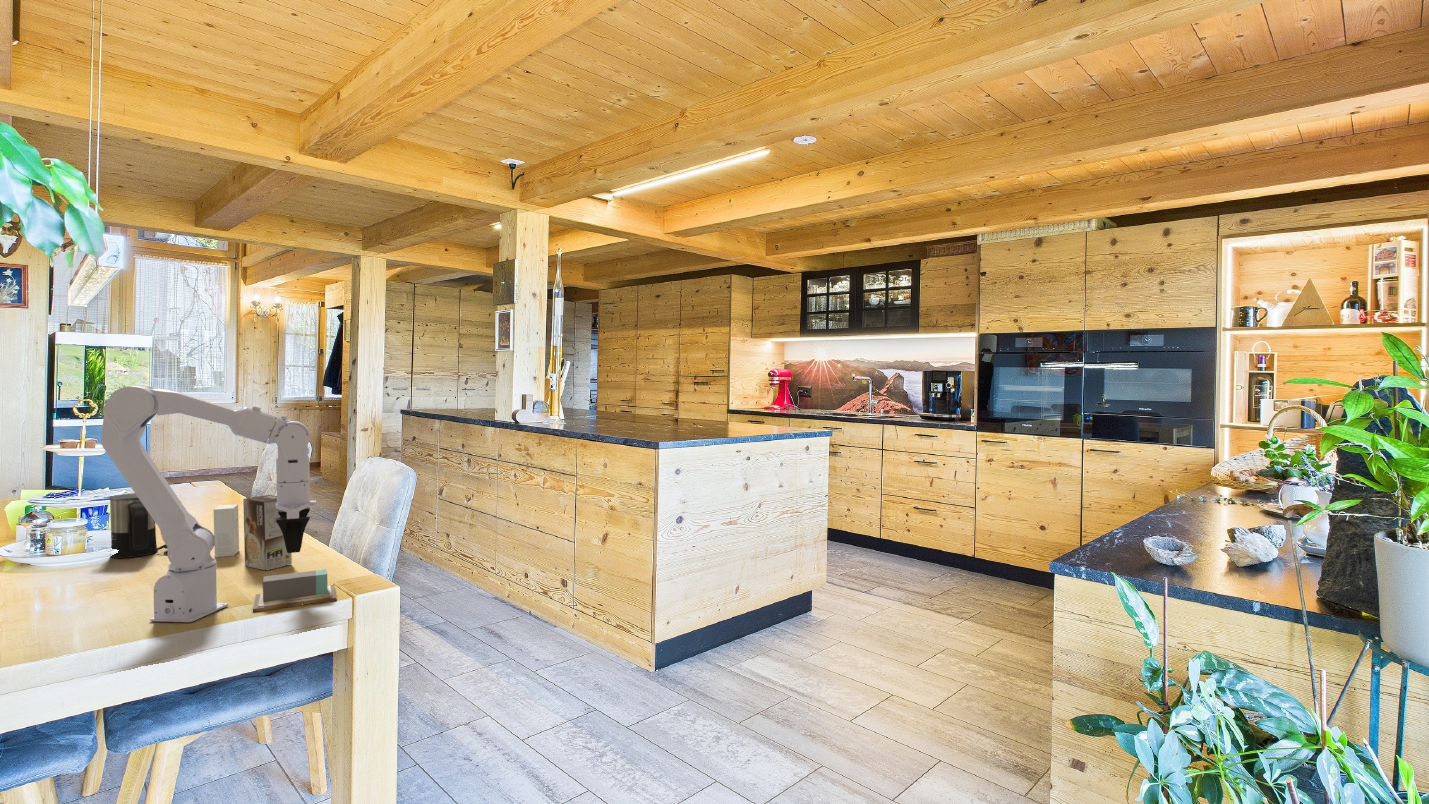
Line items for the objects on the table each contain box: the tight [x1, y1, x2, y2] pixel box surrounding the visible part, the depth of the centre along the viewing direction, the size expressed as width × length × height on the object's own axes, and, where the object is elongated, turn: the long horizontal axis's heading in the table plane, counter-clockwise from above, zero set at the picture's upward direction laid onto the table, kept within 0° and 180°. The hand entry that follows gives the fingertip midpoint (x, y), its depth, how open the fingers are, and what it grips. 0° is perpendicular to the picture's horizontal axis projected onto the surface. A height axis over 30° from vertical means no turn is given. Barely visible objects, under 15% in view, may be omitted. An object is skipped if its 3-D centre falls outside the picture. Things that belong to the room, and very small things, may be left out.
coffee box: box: [242, 494, 293, 571], centre depth 164 cm, size 9×6×16 cm
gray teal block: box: [262, 568, 328, 602], centre depth 140 cm, size 11×4×4 cm, turn 121°
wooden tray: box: [252, 584, 337, 613], centre depth 140 cm, size 14×10×1 cm
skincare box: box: [213, 503, 240, 558], centre depth 173 cm, size 6×4×12 cm
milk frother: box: [108, 492, 168, 559], centre depth 174 cm, size 14×16×15 cm
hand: (294, 548), depth 140 cm, fingers open, 7 cm apart
